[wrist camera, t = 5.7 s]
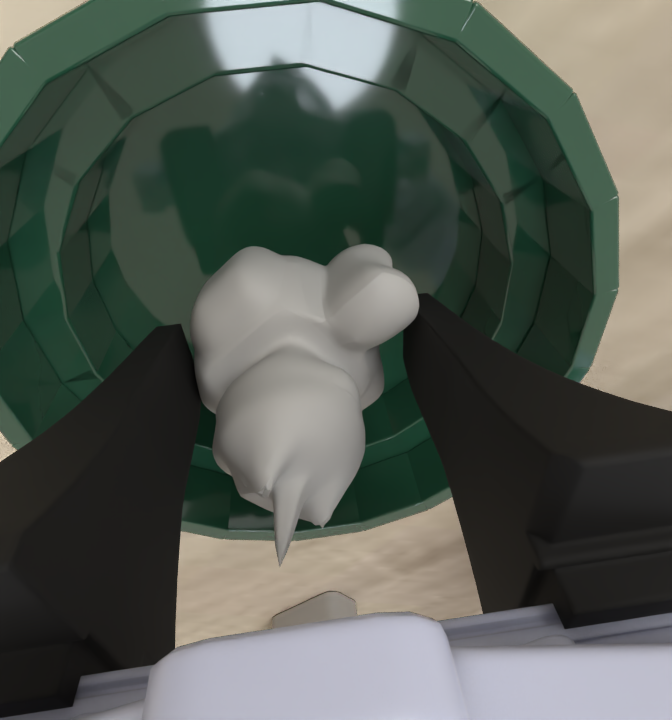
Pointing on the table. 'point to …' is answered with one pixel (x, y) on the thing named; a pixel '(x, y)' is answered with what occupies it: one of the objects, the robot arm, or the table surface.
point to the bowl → (290, 202)
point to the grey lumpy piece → (295, 372)
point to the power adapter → (317, 610)
